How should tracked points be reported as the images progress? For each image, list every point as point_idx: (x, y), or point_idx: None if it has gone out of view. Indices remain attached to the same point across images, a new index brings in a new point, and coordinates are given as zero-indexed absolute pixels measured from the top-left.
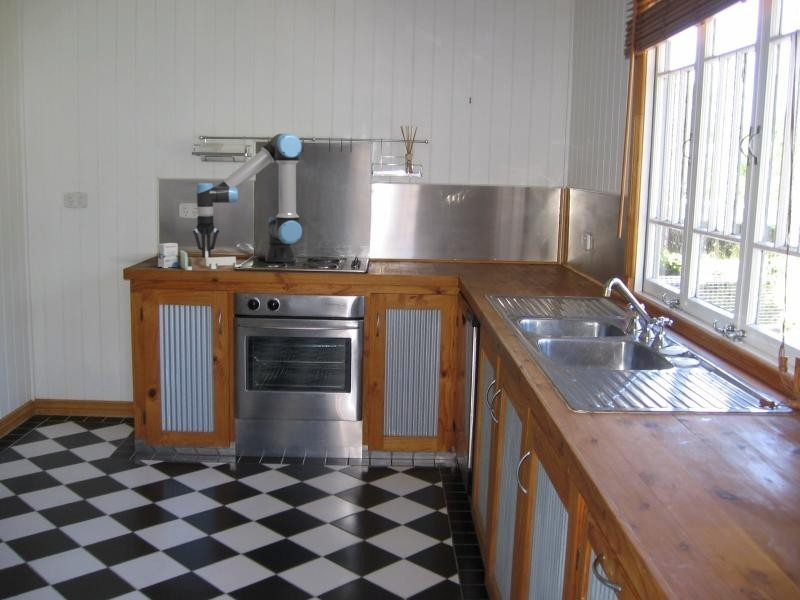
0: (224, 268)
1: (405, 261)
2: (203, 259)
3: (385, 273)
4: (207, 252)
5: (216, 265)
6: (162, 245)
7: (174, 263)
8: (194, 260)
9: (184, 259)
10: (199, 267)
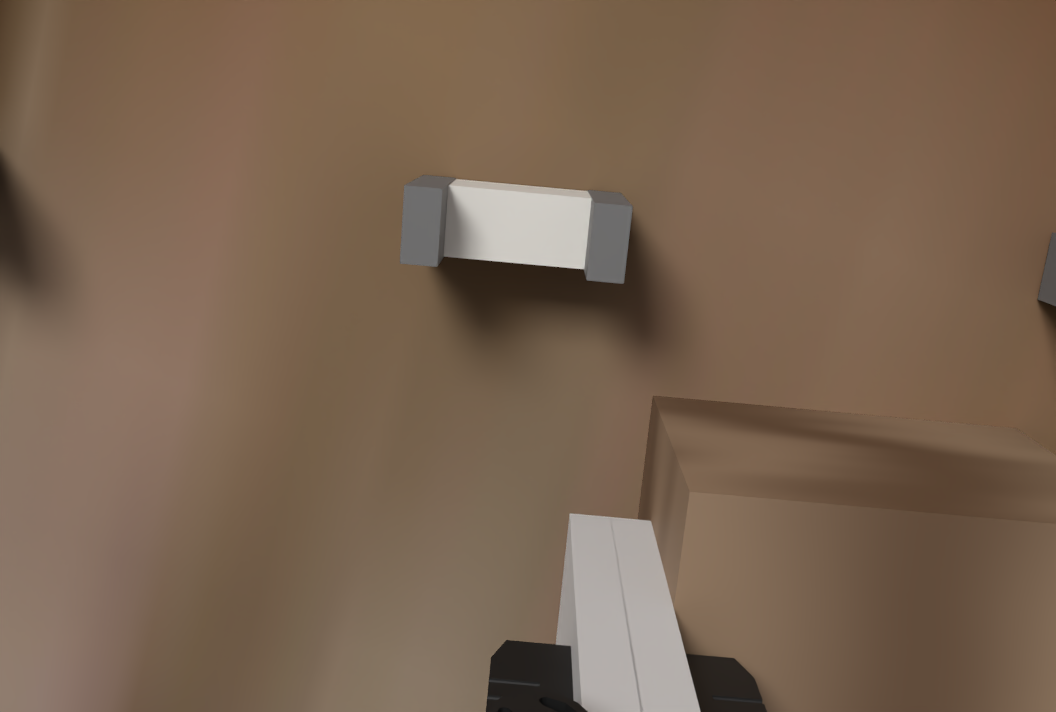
0: (230, 205)
1: None
2: (768, 488)
3: None
4: (610, 707)
5: (440, 185)
6: None
7: None
8: (1043, 505)
9: None
10: (831, 420)
